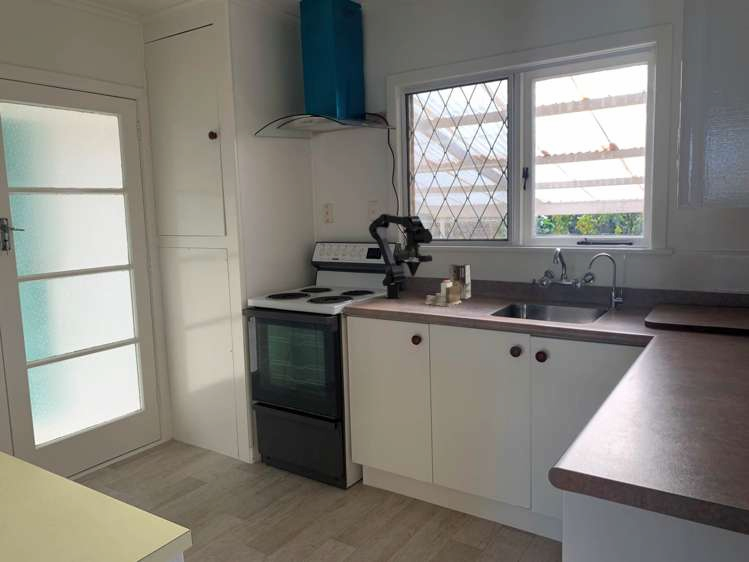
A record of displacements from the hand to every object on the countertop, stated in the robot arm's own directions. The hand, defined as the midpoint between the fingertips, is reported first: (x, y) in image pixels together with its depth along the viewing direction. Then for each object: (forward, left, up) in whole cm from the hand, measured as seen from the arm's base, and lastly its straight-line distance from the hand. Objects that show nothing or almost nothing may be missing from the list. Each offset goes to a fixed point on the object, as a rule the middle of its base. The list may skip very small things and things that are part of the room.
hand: (413, 276), depth 276 cm
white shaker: (+15, +9, -11) cm, 20 cm away
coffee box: (+3, +24, -12) cm, 27 cm away
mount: (+13, +9, -12) cm, 20 cm away
